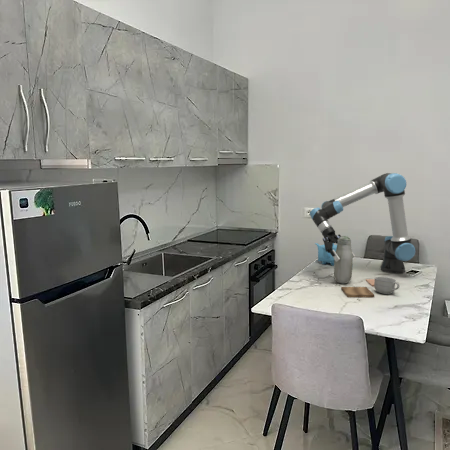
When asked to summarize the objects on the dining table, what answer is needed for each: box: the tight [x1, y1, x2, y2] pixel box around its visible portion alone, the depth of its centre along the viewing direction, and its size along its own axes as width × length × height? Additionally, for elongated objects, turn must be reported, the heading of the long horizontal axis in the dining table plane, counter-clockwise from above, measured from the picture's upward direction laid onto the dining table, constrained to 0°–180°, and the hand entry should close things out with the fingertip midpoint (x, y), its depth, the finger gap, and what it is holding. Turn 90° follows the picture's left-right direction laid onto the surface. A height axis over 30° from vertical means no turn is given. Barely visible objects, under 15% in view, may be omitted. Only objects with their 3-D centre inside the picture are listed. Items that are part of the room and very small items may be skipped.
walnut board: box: [340, 286, 375, 299], centre depth 224 cm, size 14×14×2 cm
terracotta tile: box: [365, 278, 375, 288], centre depth 242 cm, size 12×12×1 cm
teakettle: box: [314, 242, 337, 267], centre depth 292 cm, size 19×19×15 cm
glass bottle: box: [333, 235, 354, 285], centre depth 242 cm, size 10×10×28 cm
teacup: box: [374, 276, 401, 295], centre depth 224 cm, size 14×11×8 cm
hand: (345, 258), depth 240 cm, fingers open, 13 cm apart
